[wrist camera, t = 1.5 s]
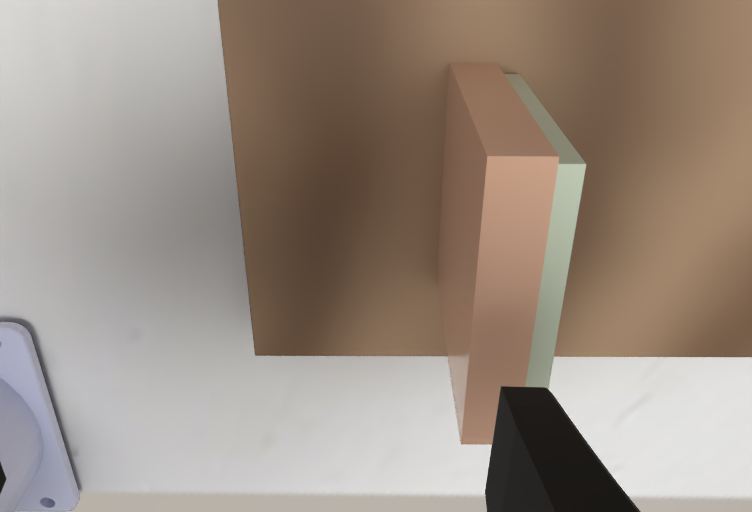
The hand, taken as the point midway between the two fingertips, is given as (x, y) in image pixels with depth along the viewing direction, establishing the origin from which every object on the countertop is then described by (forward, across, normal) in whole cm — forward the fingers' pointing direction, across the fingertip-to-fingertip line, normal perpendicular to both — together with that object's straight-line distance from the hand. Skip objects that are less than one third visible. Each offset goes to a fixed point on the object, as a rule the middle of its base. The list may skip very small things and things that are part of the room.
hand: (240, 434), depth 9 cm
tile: (+9, -4, 0) cm, 10 cm away
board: (+10, -6, 0) cm, 12 cm away
